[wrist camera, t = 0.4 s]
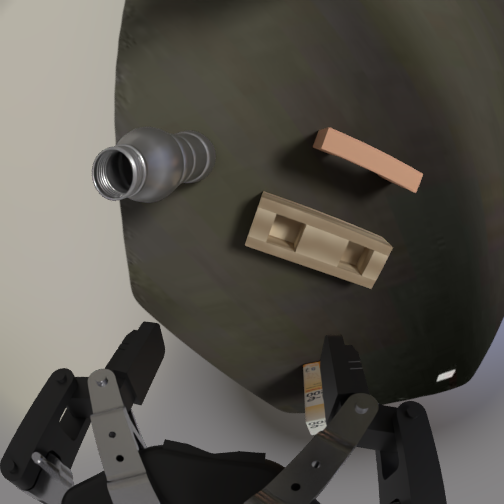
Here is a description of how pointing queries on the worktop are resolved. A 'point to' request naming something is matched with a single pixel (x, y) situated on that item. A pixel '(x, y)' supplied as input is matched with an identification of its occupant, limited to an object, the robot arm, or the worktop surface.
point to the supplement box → (314, 398)
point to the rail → (317, 240)
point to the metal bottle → (152, 164)
